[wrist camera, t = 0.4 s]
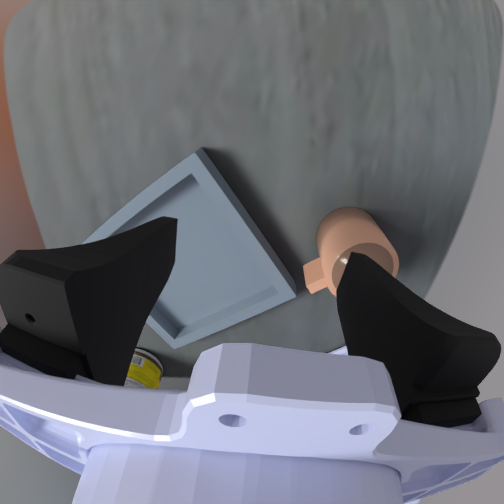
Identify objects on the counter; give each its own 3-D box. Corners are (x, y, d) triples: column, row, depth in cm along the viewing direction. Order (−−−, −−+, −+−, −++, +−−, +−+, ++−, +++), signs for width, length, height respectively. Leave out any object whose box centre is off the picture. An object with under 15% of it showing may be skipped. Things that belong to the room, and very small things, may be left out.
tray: (295, 281, 25) (296, 296, 23) (178, 334, 29) (174, 349, 27) (201, 147, 20) (194, 152, 18) (89, 236, 24) (78, 246, 22)
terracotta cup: (385, 246, 23) (407, 281, 18) (317, 281, 25) (325, 322, 20) (362, 195, 21) (384, 222, 16) (288, 234, 23) (291, 270, 18)
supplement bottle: (145, 379, 34) (121, 447, 25) (112, 353, 31) (80, 421, 23) (174, 369, 32) (152, 445, 23) (139, 339, 30) (106, 417, 21)
